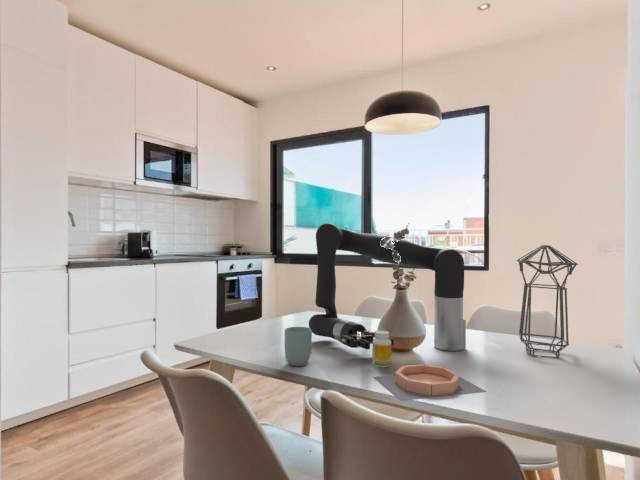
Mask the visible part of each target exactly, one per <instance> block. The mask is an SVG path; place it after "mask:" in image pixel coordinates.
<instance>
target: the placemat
mask: <svg viewBox="0 0 640 480" xmlns="http://www.w3.org/2000/svg"><path fill="white" fill-rule="evenodd" d="M372 378H373V379H374V380H375V381H377V382H378V383H379V385H381V386H383V387H384V388H385V389H386V390H388V392H389V393H391V394H392V395H393V396H394V397H396V398H397V399H398V401H401V402H402V401H410V400H412V401H413V400H422V399H430V398H431V399H432V398H439V397H448V396H449V397H450V396H460V395H467V394H468V395H469V394H479V393H487V392H488V391H486V390H485V389H483V388H481V387H480V386H478V385H476V384H474V383H472V382H470V381H468V380H466V379H464V378H462V377H461V376H459V387H458V389H457V390H456V392H455V393H452V394H443V395H433V396H432V395H426V394H420V393H415V392H410V391H407V390H405V389H403V388H402V387H401V386H399V385H398V384H397V383H395V374H394V375H380V376H379V375H378V376H372Z"/></svg>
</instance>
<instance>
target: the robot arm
mask: <svg viewBox="0 0 640 480" xmlns="http://www.w3.org/2000/svg"><path fill="white" fill-rule="evenodd" d="M386 236H387V235H385V234H377V233H361V232H355V231H352V230H349V229H347V228H346V229H345V228H342V227H339V226H337V225H336V224H333V223H329V222H328V223H323V224H322V225H319V227H318V228H317V229H316V232H315V243H316V252H317V253H316V254H317V271H316V272H317V274H316V286H315V287H316V288H315V301H314V302H315V306H317V307H318V308H322V309H324V311H325V313H322V314H321V313H319V314H316V313H315V314H313V315H312V316H311V317H310V319H309V320H308V328H311V331H312V334H314V335H315V336H319V337H324V338H326V337H327V338H331V339H333V340H335V341H338V342H339V343H341V344H342V345H344V346H347V347H349V348H351V349H353V348H354V349H358V348H362V349H364V350H370V349H371V345H372V343H373V339H375V338H376V337H375V331H370V330H367V329H366V327H365V326H364V325H363V324H362V323H359V322H355V321H352V320H348V319H342V318H338V313H337V307H336V292H337V291H336V289H337V280H336V279H337V278H336V268H335V267H336V266H335V265H336V253H337V251H344V252H350V253H354V254H357V255H360V256H364V257H366V258H369V259H371V260H375V261H377V262H383V263H387V264H392V265H398V264H397V262H395V261H394V260H393V257H392V256H393V255H392V250H391V249H386V248H384V247H381V246H380V241H381V239H382V238H384V237H386ZM401 239H402V240H400V241H398V242H396V241H394V242H395V244H394V246H395V247H394V250H396V251H398V253H399V255H400V256H401V263H400V266H401V265H402V266H410V267H411V266H415V267H420V268H424V269H428V270H430V271H434V301H433V302H434V309H433V310H434V314H433V315H434V316H433V317H434V321H433V322H434V326H433V327H434V328H433V332H434V333H433V336H434V337H433V338H434V339H433V341H434V342H433V343H434V344H433V345H434V348H436V349H438V350H442V351H449V352H450V351H451V352H459V351H462V350H465V349H467V348H466V346H467V345H466V344H467V343H466V342H467V340H466V339H467V337H466V336H467V335H466V334H467V333H466V331H467V329H466V328H467V327H466V325H467V324H466V323H467V321H466V320H465V318H464V289H465V260H464V256H463V255H462V254H461V253H460V252H459V251H457V250H456V249H452V248H437V247H431V246H430V247H429V246H424V245H420V244H417V243H414V242H411V241H410V240H409V241H408V240H405V239H403V238H401ZM392 242H393V241H392ZM394 242H393V243H394ZM390 336H391V335H390V333H389V338H388V339H390V340H391V347H393V346H394V344H395V343H394V338H393V337H390Z"/></svg>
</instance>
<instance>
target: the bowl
mask: <svg viewBox="0 0 640 480" xmlns="http://www.w3.org/2000/svg"><path fill="white" fill-rule="evenodd" d="M394 375H395V383H397V384H398V385H399V386H401V387H402V388H403V389H405V390H407V391H410V392H415V393H420V394H426V395H432V396H433V395H443V394H452V393H455V392H456V390H457V389H458V387H459V377H460V374H458V373H456V372H454V371H452V370H451V369H448V368H446V367H443V366H442V367H441V366H438V365H437V366H435V365H430V364H429V365H428V364H422V363H421V364H413V365H412V364H410V365H403V366H401V367H400V368H398V369H397V370H396V371H395V372H394Z"/></svg>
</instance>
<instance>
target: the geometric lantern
mask: <svg viewBox="0 0 640 480" xmlns="http://www.w3.org/2000/svg"><path fill="white" fill-rule="evenodd" d="M548 250H549V251H550V252H551V253H552V254H553V255H554V256H555V257H556V258H557V259H558V260H559V261H552V260H551V257H550V254H549V251H548ZM540 251H541V255H540V258H539V261H533V260H531V259H532V258H533V257H534V256H536V254H539V252H540ZM544 253H545V255H546V259H547V262H542V261H543V257H544ZM516 262H518V265H519V272H520V273H521V275H522V279H523V281H524V283H523V294H522V305H521V312H520V313H521V314H520V321H519V332H518V335H519V340H520V341H521V342H522V343H523V344H524V345H525V349H526V350H525V351H526V353H527V355H528V356H530V355H532V357H538V356H541V357H540V358H549V357H550V358H552V359H558V358H560V352H561V351H562V350H564V349H566V348H567V347H569V345H570V343H569V320H568V319H569V318H568V291H567V290H568V288H567V287H566V284H567V280H568V276H572V274H573V271H574V270H575V268H576V267H577V266H578V265H579V264H578V263H577V262H576V261H574V260H572V259H571V258H569V257H568V256H566V255H565V254H564V253H561V252H560V251H559V250H558V249H556V248H554V247H553V246H552V245H549V244H541V245H540V246H539V247H537V248H535V249H533V250H531V251H530V252H528V253H526V254H525V255H523V256H522V257H520V258H518V259H516ZM524 264H526V265H527V266H529V267H531V268H533V269H534V270H536V271H535V273H534V275H533V276H532V278H531V280H530V281H529V283H527V280H526V277H525V273H524ZM534 264H536V265H538V268H537V267H536V266H535V265H534ZM542 266H547V270H544V269H543V270H542ZM560 266H562V267H560ZM563 269H566V270H567V271H566V276H565V277H564V279H563V282H562V283H561V285H560V283H559V281H558V279H557V277H556V276H555V273H556V272H559V271H561V270H563ZM540 275H549V276H550V278H551V280H553V282H554V284H540V283H534V282H535V281H536V280H537V279H538V277H539V276H540ZM532 288H536V289H537V288H538V289H548V290H549V289H550V290H556V297H555V298H556V300H555V302H556V303H555V320H554V321H555V322H554V335H545V334H535V333H534V334H533V333H531V313H532V311H531V310H532ZM564 307H565V308H564ZM558 309H559V310H558ZM564 309H565V310H564ZM564 312H565V318H564ZM558 313H559V316H560V317H559V319H560V320H559V321H560V322H559V323H560V325H559V328H560V336H557V333H558ZM564 320H565V321H564ZM524 325H525V326H524ZM527 328H528V329H527ZM527 332H528V333H527ZM565 335H566V336H565ZM523 336H524V337H525V338H524V337H523ZM531 336H532V337H543V338H552V341H551V343H550V342H544V341H542V342H541V341H535V340H531ZM565 337H566V338H565ZM556 339H558V340H559V341H558V342H557V343H554V342H555V340H556ZM565 339H566V340H565ZM533 345H536V346H546V347H547V346H548V347H549V349H542V348H537V347H536V348H535V347H533ZM557 347H559V348H557ZM527 349H530V350H527ZM531 349H533V350H531ZM538 350H543V351H542V352H550V351H551V352H550V353H553V354H554V355H555V356H551V355H538V354H535V351H538Z"/></svg>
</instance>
